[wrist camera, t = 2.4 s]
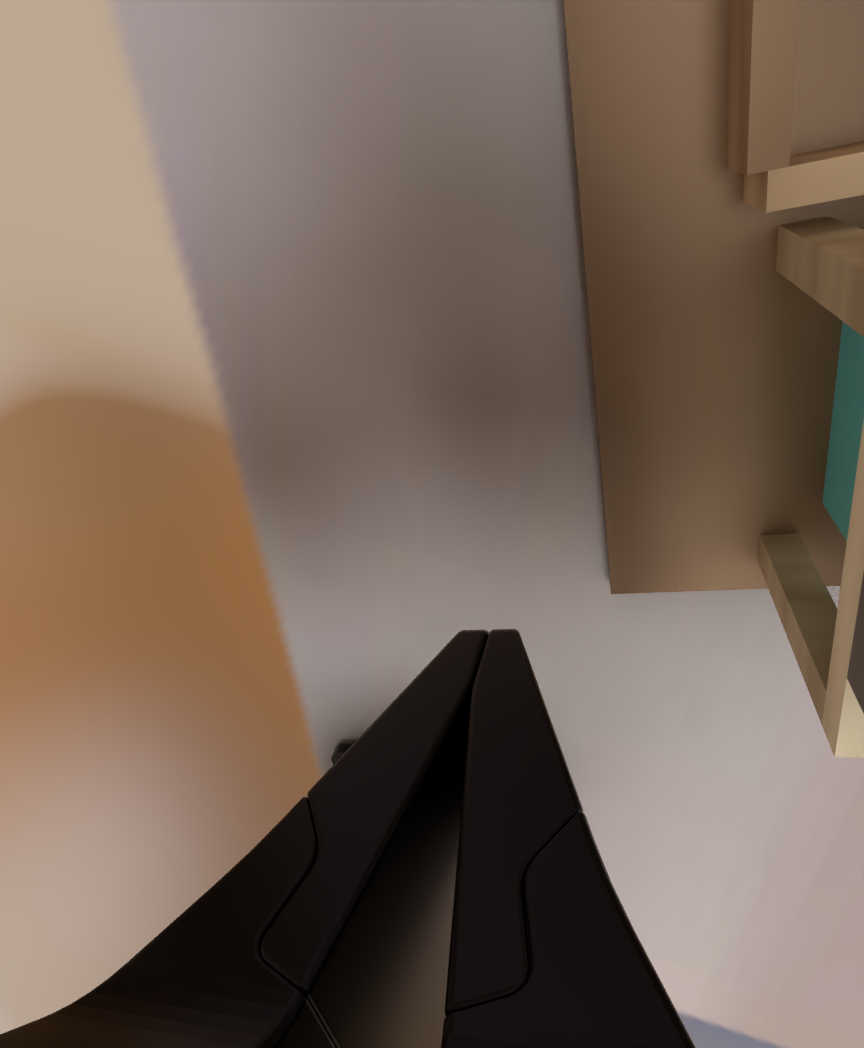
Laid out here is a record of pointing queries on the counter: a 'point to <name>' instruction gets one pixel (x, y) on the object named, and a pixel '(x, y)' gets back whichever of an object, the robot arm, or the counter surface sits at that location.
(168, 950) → the robot arm
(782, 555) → the bridge
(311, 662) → the counter surface
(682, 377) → the board
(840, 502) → the block
